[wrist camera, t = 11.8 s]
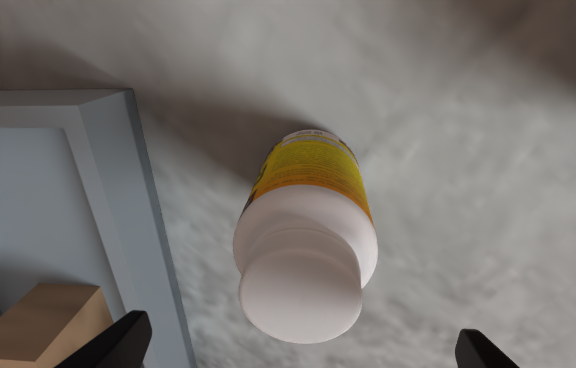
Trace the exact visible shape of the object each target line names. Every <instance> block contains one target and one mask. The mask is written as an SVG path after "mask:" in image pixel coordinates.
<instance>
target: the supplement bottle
mask: <svg viewBox="0 0 576 368" xmlns="http://www.w3.org/2000/svg"><path fill="white" fill-rule="evenodd" d="M233 253H234V258H235V261H236V265H237V267H238V270H239V271H240V273H241V275H242V277H241V280H240V284H239V301H240V304H241V307H242V309H243V312H244V313H245V315H246V316H247V318H248V319H249V320H250V321H251V322H252V323H253V324H254V325H255V326H256V327H257V328H258V329H260V330H261V331H263V332H264V333H266V334H268V335H269V336H272V337H274V338H277V339H279V340H283V341H287V342H292V343H301V344H308V343H318V342H323V341H327V340H330V339H333V338H335V337H337V336H339V335H341V334H342V333H344V332H345V331H347V330H348V329H349V328H350V327H351V326H352V325H353V324H354V322H355V321H356V320H357V318H358V316H359V314H360V311H361V308H362V302H363V296H362V288H363V287H364V286H365V285H366V284H367V282H368V281H369V279H370V278H371V276H372V274H373V272H374V269H375V267H376V263H377V257H378V245H377V238H376V233H375V229H374V225H373V221H372V218H371V214H370V210H369V206H368V202H367V198H366V194H365V189H364V186H363V182H362V178H361V174H360V170H359V166H358V163H357V160H356V158H355V156H354V154H353V152H352V151H351V149H350V148H349V147H348V146H347V144H346V143H345V142H344V141H342V140H341V139H340V138H338V137H337V136H335V135H333V134H331V133H328V132H325V131H320V130H301V131H297V132H294V133H291V134H289V135H287V136H285V137H284V138H282V139H281V140H280V141H278V142H277V143H276V144H275V145H274V147H273V148H272V149H271V151H270V152H269V154H268V156H267V158H266V160H265V162H264V164H263V166H262V169H261V171H260V173H259V176H258V178H257V180H256V182H255V185H254V187H253V189H252V192H251V194H250V196H249V199H248V201H247V203H246V205H245V207H244V209H243V212H242V214H241V216H240V219H239V221H238V224H237V227H236V229H235V233H234V238H233Z"/></svg>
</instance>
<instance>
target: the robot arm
mask: <svg viewBox="0 0 576 368" xmlns="http://www.w3.org/2000/svg"><path fill="white" fill-rule="evenodd" d="M151 338H152V326H151V323H150V320H149V316H148V313H147V312H146V311H144V310H132V311H130V312H128V313H127V314H126V315H124V316H123V317H122V318H120V319H119V320H117V321H116V322H115V323H113V324H112V325H111V326H109V327H108V328H107V329H105V330H104V331H102V332H101V333H100V334H98V335H97V336H96V337H94V338H93V339H92V340H90V341H89V342H87V343H86V344H85V345H83V346H82V347H81V348H79V349H78V350H77V351H75V352H74V353H72V354H71V355H70V356H68V357H67V358H66V359H64V360H63V361H62V362H60V363H59V364H57V365H56V366H55V367H53V368H141V366H142V363H143V360H144V357H145V354H146V352H147V349H148V346H149V343H150V341H151ZM455 357H456V361H457V365H458V368H520V367H518V366H517V365H516V364H515V363H514V362H513V361H512V360H511V359H510V358H509V357H508V356H506V355H505V354H504V353H503V352H502V351H501V350H500V349H499V348H498V347H497V346H496V345H494V344H493V343H492V342H491V341H490V340H489V339H488V338H487V337H486V336H485V335H484V334H482V333H481V332H480V331H478V330H476V329H462V330H461V331H460V333H459V337H458V341H457V344H456V348H455Z"/></svg>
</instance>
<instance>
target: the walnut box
mask: <svg viewBox="0 0 576 368" xmlns="http://www.w3.org/2000/svg"><path fill="white" fill-rule="evenodd" d="M113 323H114V322H113V319H112V316H111V314H110V311H109V308H108V306H107V303H106V300H105V297H104V295H103V292H102V289H101V287H100V286H81V285H61V284H41V283H38V284H37V285H36V286H35V287H34V288H33V289H31V290H30V291H29V292H28V293H27V294H26V295H25V296H24V297H22V298H21V299H20V300H19V301H18V302H17V303H16V304H15V305H13V306H12V307H11V308H10V309H9V310H8V311H7V312H6V313H5V314H3V315H2V316H1V317H0V368H53V367H55V366H56V365H57V364H59V363H60V362H62V361H63V360H64V359H66V358H67V357H68V356H70V355H71V354H72V353H74V352H75V351H77V350H78V349H79V348H81V347H82V346H83V345H85V344H86V343H87V342H89V341H90V340H92V339H93V338H94V337H96V336H97V335H98V334H100V333H101V332H102V331H104V330H105V329H107V328H108V327H109V326H111V325H112V324H113Z"/></svg>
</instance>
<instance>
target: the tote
mask: <svg viewBox="0 0 576 368" xmlns="http://www.w3.org/2000/svg"><path fill="white" fill-rule="evenodd" d="M38 283H41V284H61V285H81V286H100V287H101V289H102V292H103V295H104V297H105V300H106V303H107V306H108V308H109V311H110V314H111V316H112V319H113V322H114V323H115V322H116V321H117V320H119V319H120V318H122V317H123V316H124V315H126V314H127V313H128V312H130V311H132V310H144V311H146V312H147V313H148V316H149V320H150V323H151V326H152V338H151V341H150V343H149V346H148V349H147V352H146V354H145V357H144V360H143V363H142V366H141V368H197V366H196V361H195V357H194V353H193V348H192V344H191V340H190V335H189V331H188V327H187V322H186V318H185V314H184V309H183V305H182V301H181V296H180V292H179V288H178V283H177V279H176V275H175V270H174V266H173V262H172V257H171V253H170V249H169V244H168V240H167V236H166V231H165V227H164V222H163V218H162V214H161V209H160V205H159V201H158V196H157V192H156V188H155V183H154V179H153V175H152V170H151V166H150V162H149V157H148V153H147V149H146V144H145V140H144V136H143V131H142V127H141V123H140V118H139V114H138V110H137V105H136V101H135V97H134V92H133V89H71V90H6V91H0V317H1V316H2V315H3V314H5V313H6V312H7V311H8V310H9V309H10V308H11V307H12V306H13V305H15V304H16V303H17V302H18V301H19V300H20V299H21V298H22V297H24V296H25V295H26V294H27V293H28V292H29V291H30V290H31V289H33V288H34V287H35V286H36V285H37V284H38Z"/></svg>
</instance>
